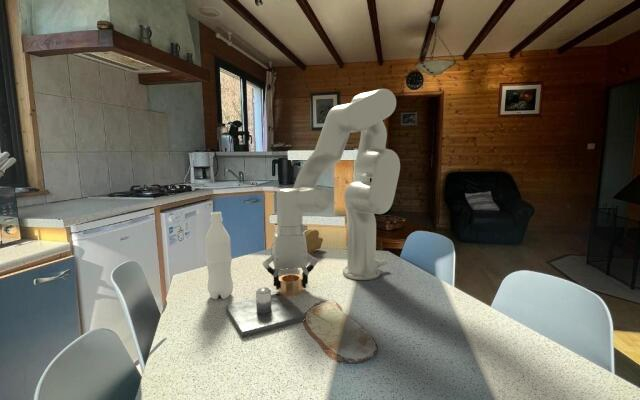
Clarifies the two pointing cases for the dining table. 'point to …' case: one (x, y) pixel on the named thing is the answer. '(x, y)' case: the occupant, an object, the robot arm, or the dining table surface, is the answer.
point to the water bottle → (218, 258)
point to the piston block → (263, 313)
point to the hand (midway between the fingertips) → (290, 286)
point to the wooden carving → (313, 240)
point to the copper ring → (290, 284)
